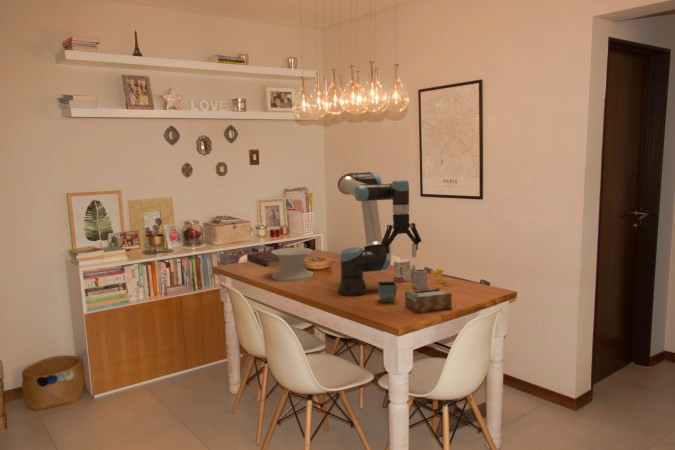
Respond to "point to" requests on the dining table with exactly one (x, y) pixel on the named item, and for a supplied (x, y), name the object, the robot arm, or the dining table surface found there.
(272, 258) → the book
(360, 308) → the dining table surface
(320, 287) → the dining table surface
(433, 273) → the figurine
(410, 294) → the lid
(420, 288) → the mug
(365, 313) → the dining table surface
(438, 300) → the box
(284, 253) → the grey spool stand
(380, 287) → the flower pot
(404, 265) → the ink box
